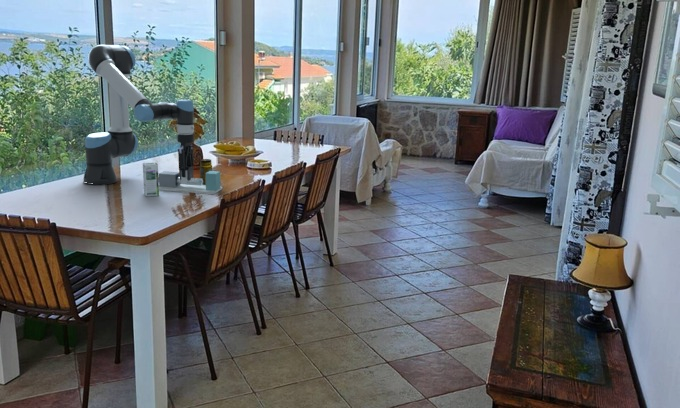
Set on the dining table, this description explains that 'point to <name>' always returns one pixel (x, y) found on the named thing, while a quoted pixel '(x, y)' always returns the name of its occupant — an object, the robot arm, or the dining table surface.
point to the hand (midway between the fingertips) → (186, 182)
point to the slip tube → (189, 177)
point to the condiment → (205, 169)
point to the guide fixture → (169, 184)
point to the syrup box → (151, 179)
